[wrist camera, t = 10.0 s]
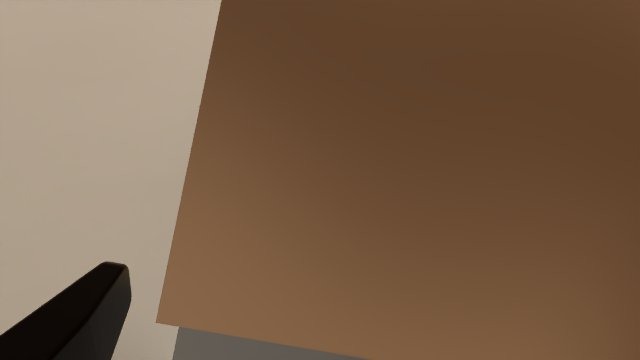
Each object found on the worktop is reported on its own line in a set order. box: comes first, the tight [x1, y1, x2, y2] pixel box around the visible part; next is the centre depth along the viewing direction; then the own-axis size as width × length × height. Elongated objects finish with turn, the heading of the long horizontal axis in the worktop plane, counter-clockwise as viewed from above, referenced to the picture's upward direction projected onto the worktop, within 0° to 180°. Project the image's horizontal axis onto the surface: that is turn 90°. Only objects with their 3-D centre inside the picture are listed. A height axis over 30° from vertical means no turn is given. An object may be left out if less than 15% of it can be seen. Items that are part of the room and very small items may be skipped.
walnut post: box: [156, 0, 640, 360], centre depth 11 cm, size 5×5×13 cm
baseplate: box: [173, 327, 371, 360], centre depth 18 cm, size 16×16×1 cm
